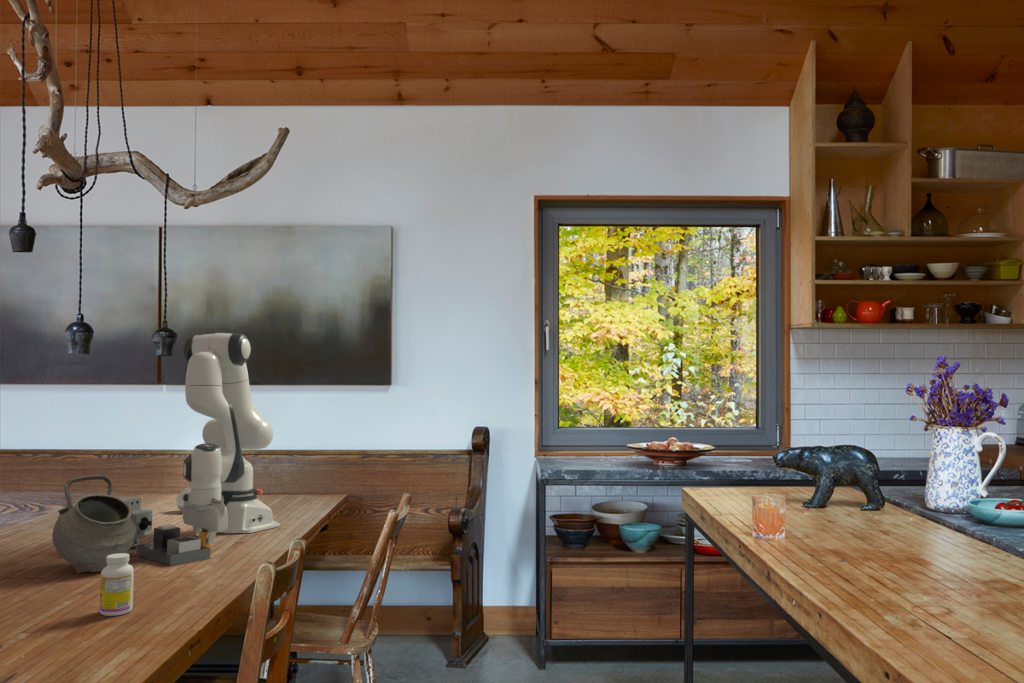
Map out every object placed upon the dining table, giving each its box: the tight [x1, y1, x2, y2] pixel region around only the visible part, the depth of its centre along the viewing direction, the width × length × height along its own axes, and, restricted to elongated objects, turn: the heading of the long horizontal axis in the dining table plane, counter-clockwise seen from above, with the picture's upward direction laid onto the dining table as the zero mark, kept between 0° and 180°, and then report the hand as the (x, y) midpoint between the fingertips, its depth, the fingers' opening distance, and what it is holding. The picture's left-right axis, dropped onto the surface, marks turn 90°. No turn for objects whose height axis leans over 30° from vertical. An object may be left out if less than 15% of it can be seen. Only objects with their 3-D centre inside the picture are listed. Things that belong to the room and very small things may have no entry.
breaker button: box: [157, 524, 177, 530], centre depth 228 cm, size 4×4×5 cm
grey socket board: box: [136, 526, 211, 567], centre depth 226 cm, size 12×20×8 cm, turn 52°
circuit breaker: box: [117, 496, 153, 548], centre depth 237 cm, size 8×14×15 cm, turn 78°
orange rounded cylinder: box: [199, 528, 212, 552], centre depth 234 cm, size 4×4×7 cm
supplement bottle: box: [99, 552, 135, 617], centre depth 173 cm, size 7×7×13 cm
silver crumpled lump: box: [175, 486, 191, 512], centre depth 299 cm, size 9×10×10 cm
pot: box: [51, 473, 136, 574], centre depth 213 cm, size 21×21×25 cm
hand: (204, 542), depth 234 cm, fingers open, 5 cm apart
